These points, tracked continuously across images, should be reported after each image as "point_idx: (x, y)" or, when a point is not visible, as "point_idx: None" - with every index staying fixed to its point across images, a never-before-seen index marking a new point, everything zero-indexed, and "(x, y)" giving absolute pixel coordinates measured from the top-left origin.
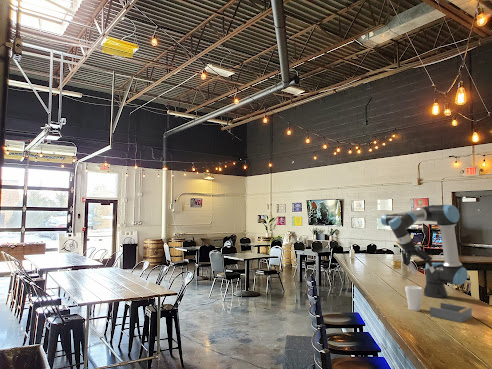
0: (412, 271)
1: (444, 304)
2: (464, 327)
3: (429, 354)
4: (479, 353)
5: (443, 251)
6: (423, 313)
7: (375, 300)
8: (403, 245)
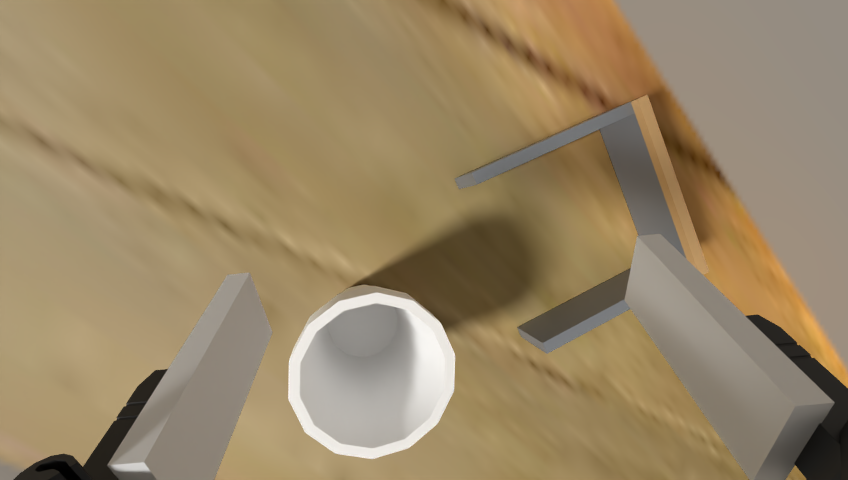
0: (250, 372)
1: (499, 173)
2: None
3: None
4: None
5: None
6: (463, 333)
7: (22, 445)
8: None
